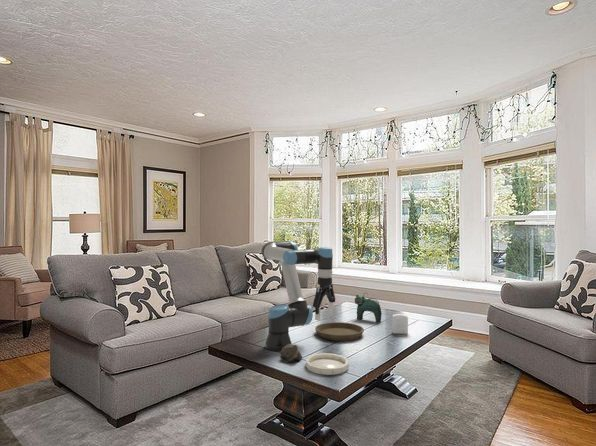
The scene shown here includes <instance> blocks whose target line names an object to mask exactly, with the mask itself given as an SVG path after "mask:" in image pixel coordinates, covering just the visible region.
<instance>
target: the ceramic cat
mask: <svg viewBox="0 0 596 446" xmlns="http://www.w3.org/2000/svg"><path fill="white" fill-rule="evenodd" d="M365 294H366V295H367V296H368V295H369V294H368V293H367V292H365V293H363V295H358V294H356V296H355V298H354V303H355V305H357V307H356V319H357V320H363V319H364V313H365V312H371V313H373V315H374V318H375V322H376V323H380V322H382V308H381V304H380V303H379V301H378V299H376V298H373V297H372V298H365Z"/></svg>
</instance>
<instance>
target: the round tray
mask: <svg viewBox="0 0 596 446" xmlns="http://www.w3.org/2000/svg"><path fill="white" fill-rule="evenodd" d="M349 364H350V363H349V359H348V358H347V357H345V356H344V355H341V354H337V353H326V352H323V353H315V354H311V355H309V356H307V357H306V360H305V367H306V369H307V370H308V371H309V372H311V373H314V374H318V375H325V376H333V375H340V374H343V373H346V372H347V371H348V370H349V368H350V366H349Z"/></svg>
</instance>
